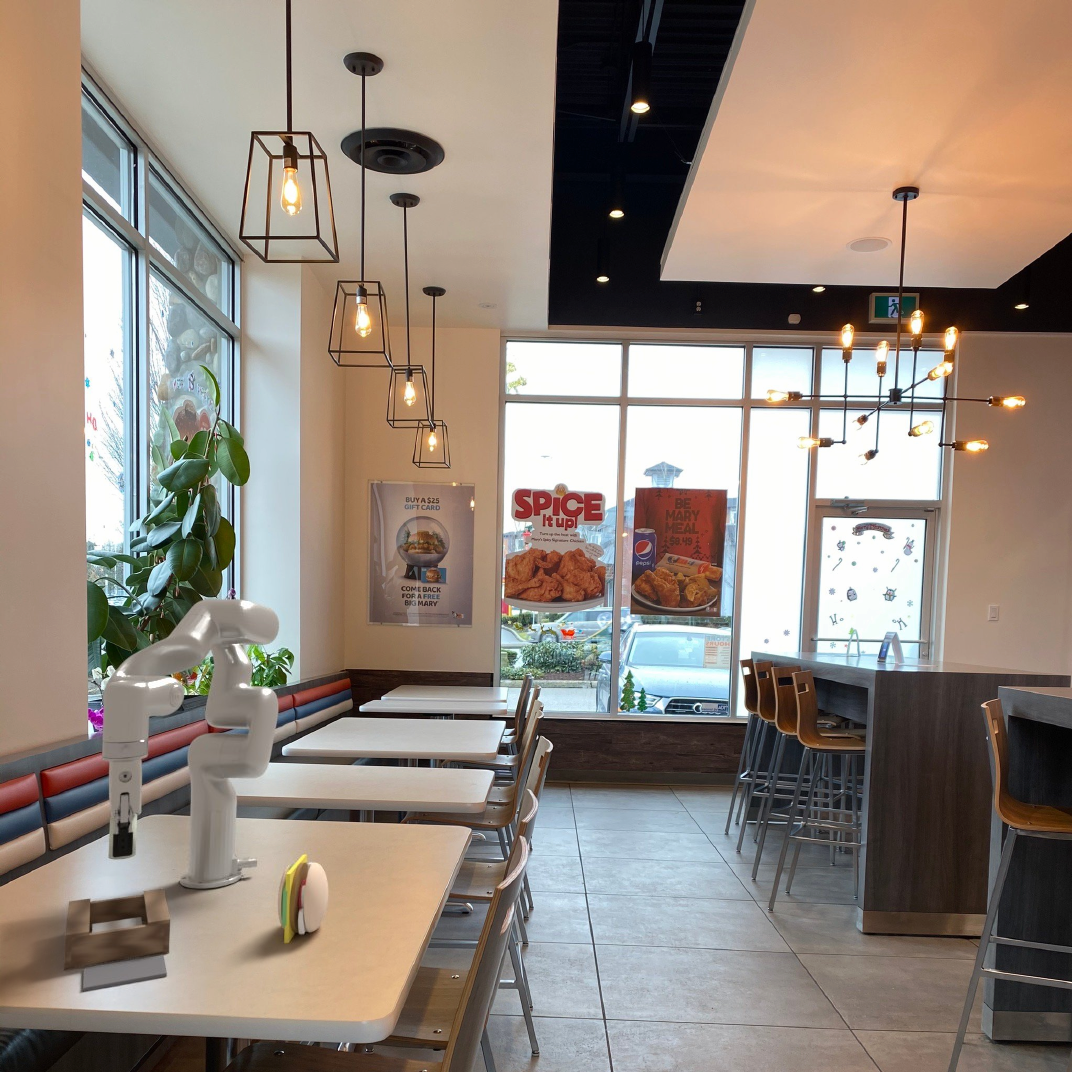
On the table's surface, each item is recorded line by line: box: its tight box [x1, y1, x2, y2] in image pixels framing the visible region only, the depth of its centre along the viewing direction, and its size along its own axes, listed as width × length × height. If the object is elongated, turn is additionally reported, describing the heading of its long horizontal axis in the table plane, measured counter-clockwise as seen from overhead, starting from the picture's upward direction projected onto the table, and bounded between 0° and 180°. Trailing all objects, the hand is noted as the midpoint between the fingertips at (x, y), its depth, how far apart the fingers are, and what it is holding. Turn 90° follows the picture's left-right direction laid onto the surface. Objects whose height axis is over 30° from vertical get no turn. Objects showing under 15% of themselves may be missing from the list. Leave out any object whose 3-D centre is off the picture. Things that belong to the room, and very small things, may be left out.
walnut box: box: [63, 888, 171, 971], centre depth 151 cm, size 16×18×6 cm
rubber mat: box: [82, 954, 168, 992], centre depth 138 cm, size 12×8×1 cm, turn 117°
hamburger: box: [277, 854, 329, 944], centre depth 157 cm, size 12×8×12 cm
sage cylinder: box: [108, 812, 138, 861], centre depth 153 cm, size 4×4×7 cm
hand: (122, 850), depth 153 cm, fingers closed on sage cylinder, 4 cm apart
